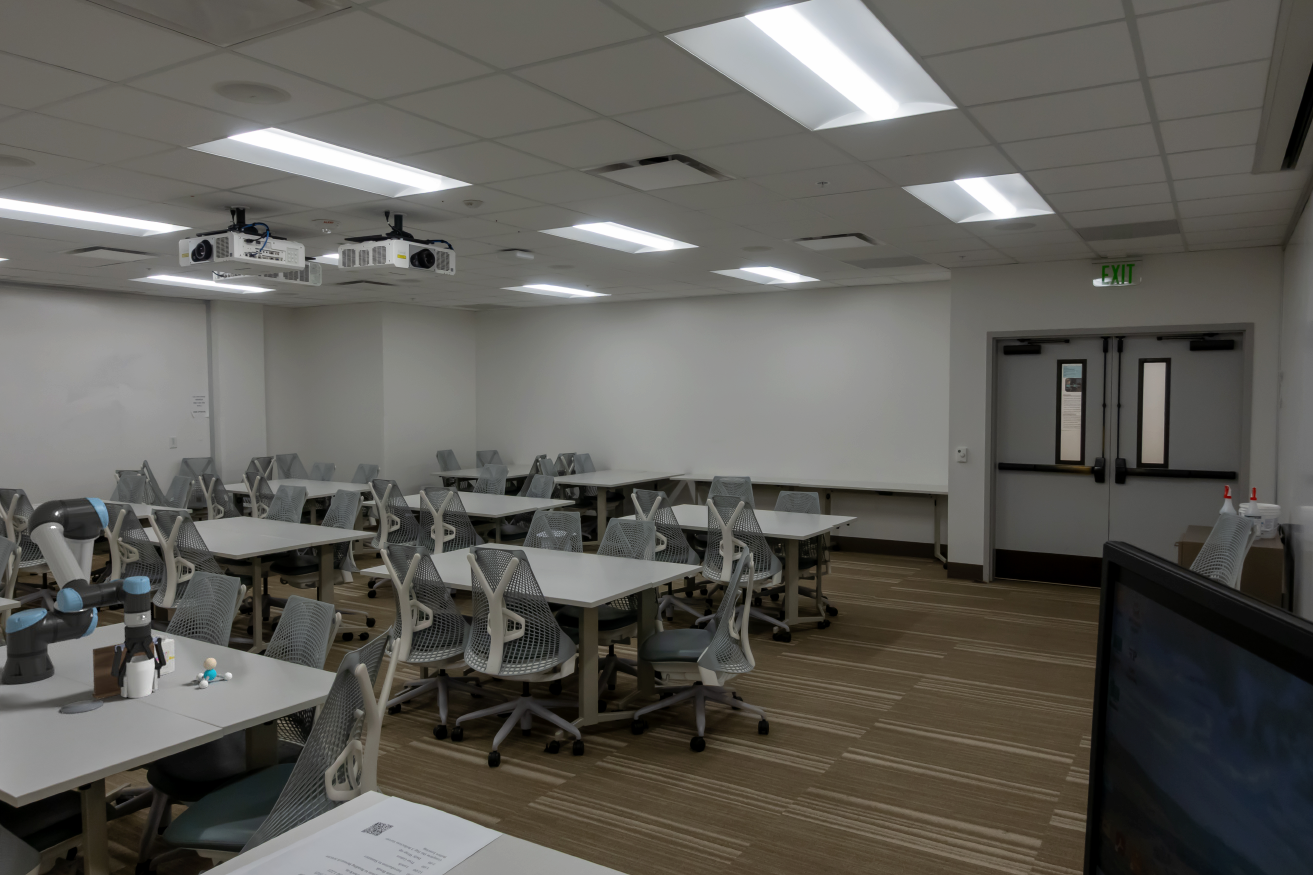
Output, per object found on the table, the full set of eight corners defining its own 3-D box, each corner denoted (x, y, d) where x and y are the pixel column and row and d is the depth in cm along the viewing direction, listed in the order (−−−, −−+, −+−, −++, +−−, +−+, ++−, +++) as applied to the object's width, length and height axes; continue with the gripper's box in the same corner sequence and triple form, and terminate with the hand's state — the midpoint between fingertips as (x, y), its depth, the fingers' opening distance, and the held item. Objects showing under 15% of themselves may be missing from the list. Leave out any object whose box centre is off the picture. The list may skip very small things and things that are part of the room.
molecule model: (186, 683, 296) (186, 657, 296) (222, 675, 305) (221, 650, 305) (201, 690, 288) (200, 664, 288) (237, 681, 297) (236, 656, 297)
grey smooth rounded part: (55, 708, 271) (55, 706, 271) (94, 699, 279) (94, 697, 279) (68, 715, 264) (68, 714, 264) (108, 705, 273) (108, 704, 273)
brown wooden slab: (92, 697, 282) (91, 648, 281) (151, 682, 296) (150, 636, 295) (97, 699, 279) (96, 650, 279) (156, 685, 294) (155, 638, 293)
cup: (140, 700, 278) (139, 663, 278) (116, 698, 280) (115, 662, 279) (162, 691, 287) (161, 655, 286) (138, 689, 289) (137, 654, 288)
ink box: (137, 675, 305) (136, 637, 304) (158, 668, 313) (157, 632, 312) (154, 678, 302) (153, 640, 301) (175, 671, 309) (174, 634, 309)
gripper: (106, 632, 272) (108, 703, 272) (177, 619, 289) (178, 686, 289) (96, 629, 276) (98, 698, 277) (166, 616, 293) (168, 681, 294)
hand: (139, 692), depth 283 cm, fingers closed on cup, 9 cm apart
